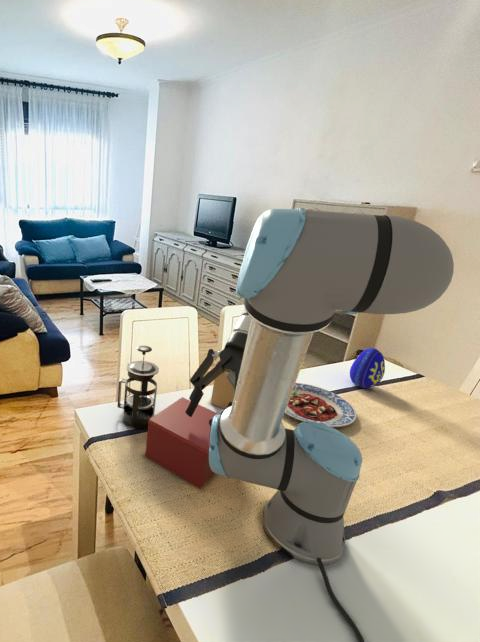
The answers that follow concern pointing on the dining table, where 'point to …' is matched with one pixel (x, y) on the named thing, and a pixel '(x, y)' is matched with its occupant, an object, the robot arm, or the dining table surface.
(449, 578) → the dining table surface
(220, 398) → the sandwich container
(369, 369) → the ornament
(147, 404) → the french press
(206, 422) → the box lid
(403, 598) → the dining table surface
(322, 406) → the ceramic plate
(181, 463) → the red hinged lid box
